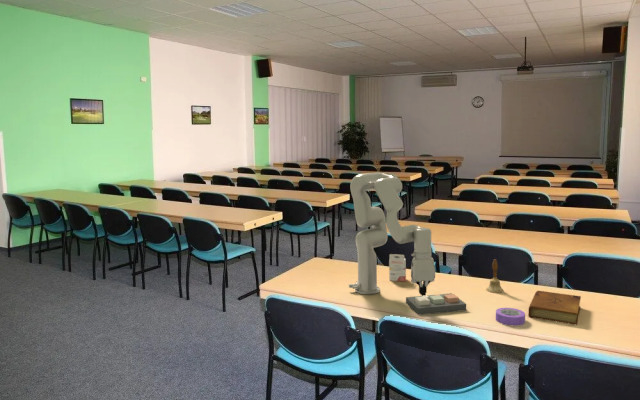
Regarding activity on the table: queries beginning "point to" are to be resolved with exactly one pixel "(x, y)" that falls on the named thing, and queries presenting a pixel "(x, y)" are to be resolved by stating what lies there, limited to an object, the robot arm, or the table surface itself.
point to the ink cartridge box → (397, 268)
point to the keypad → (435, 306)
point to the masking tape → (510, 316)
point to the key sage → (436, 299)
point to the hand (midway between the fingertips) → (422, 294)
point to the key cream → (422, 301)
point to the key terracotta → (451, 298)
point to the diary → (555, 307)
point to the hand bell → (494, 280)
